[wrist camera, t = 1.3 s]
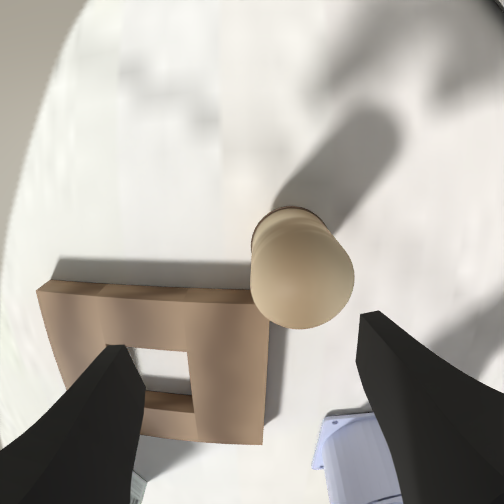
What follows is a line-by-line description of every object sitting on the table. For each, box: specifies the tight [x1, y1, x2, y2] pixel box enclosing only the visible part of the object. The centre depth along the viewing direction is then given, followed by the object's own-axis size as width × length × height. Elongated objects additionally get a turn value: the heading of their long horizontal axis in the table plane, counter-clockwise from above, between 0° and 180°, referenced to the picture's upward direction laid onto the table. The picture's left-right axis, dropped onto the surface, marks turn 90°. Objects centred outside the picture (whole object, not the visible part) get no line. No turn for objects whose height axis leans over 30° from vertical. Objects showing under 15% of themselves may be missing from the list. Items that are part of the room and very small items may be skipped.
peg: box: [250, 206, 354, 329], centre depth 16 cm, size 4×4×7 cm
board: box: [36, 280, 270, 445], centre depth 22 cm, size 16×13×2 cm
